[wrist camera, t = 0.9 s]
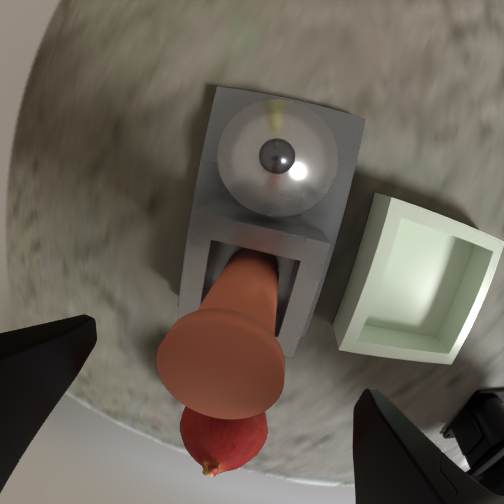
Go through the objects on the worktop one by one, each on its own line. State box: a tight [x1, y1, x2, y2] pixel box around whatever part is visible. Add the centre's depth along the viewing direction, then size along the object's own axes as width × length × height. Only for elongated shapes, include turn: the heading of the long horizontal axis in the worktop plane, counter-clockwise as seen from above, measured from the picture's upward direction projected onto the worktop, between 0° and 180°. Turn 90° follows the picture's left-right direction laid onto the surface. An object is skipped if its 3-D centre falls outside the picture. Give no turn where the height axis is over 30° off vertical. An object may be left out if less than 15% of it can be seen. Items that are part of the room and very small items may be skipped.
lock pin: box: [156, 248, 285, 419], centre depth 12 cm, size 4×4×9 cm
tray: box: [333, 193, 504, 364], centre depth 15 cm, size 9×9×3 cm
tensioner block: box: [177, 87, 365, 358], centre depth 14 cm, size 8×13×4 cm, turn 168°
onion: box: [180, 406, 268, 477], centre depth 16 cm, size 6×6×8 cm
